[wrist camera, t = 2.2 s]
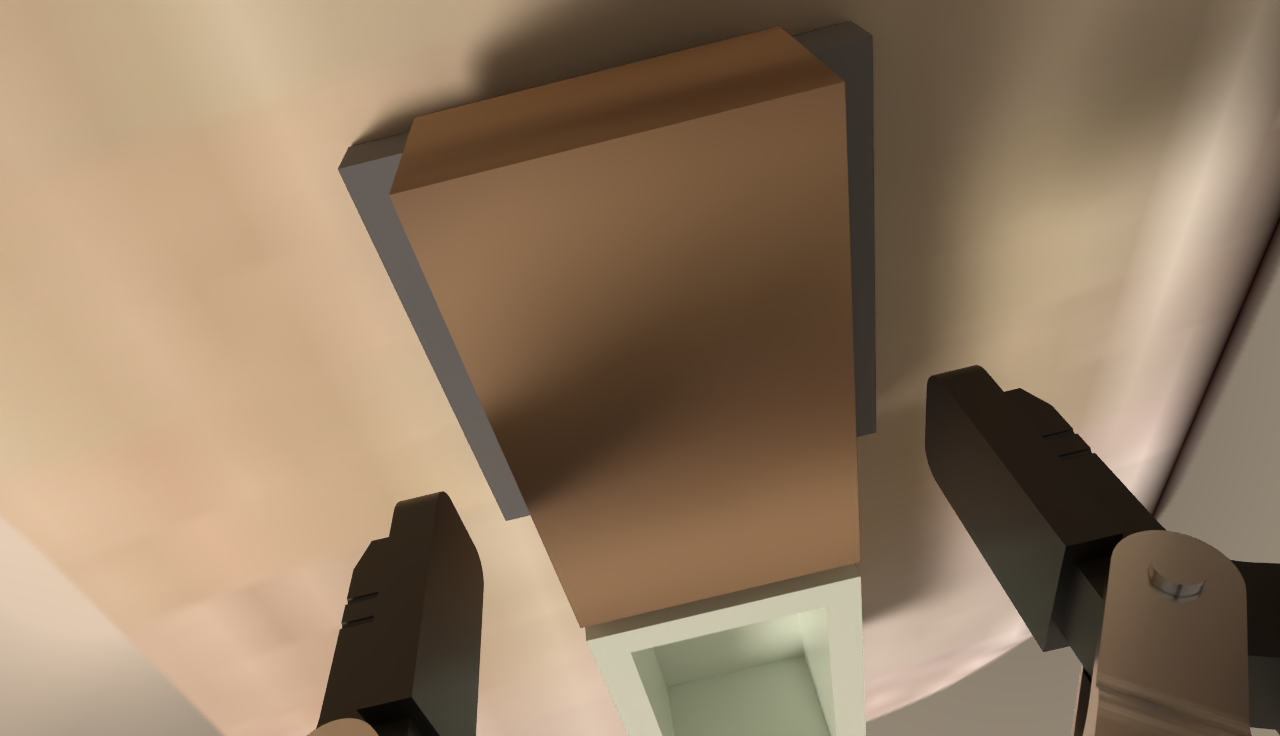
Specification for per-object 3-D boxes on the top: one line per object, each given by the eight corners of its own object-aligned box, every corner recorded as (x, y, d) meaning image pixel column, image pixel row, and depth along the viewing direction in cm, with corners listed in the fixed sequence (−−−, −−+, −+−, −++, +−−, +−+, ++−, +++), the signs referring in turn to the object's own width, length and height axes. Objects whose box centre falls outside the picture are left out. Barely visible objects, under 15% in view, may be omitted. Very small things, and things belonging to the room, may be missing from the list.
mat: (348, 147, 13) (338, 169, 12) (851, 21, 13) (872, 35, 12) (506, 490, 19) (505, 520, 18) (860, 405, 18) (876, 432, 18)
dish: (575, 502, 19) (586, 641, 16) (803, 447, 19) (860, 576, 16) (643, 682, 25) (662, 812, 22) (822, 641, 25) (866, 765, 21)
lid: (414, 117, 12) (388, 195, 10) (779, 26, 12) (844, 81, 10) (572, 519, 18) (580, 627, 16) (815, 461, 18) (860, 561, 16)
